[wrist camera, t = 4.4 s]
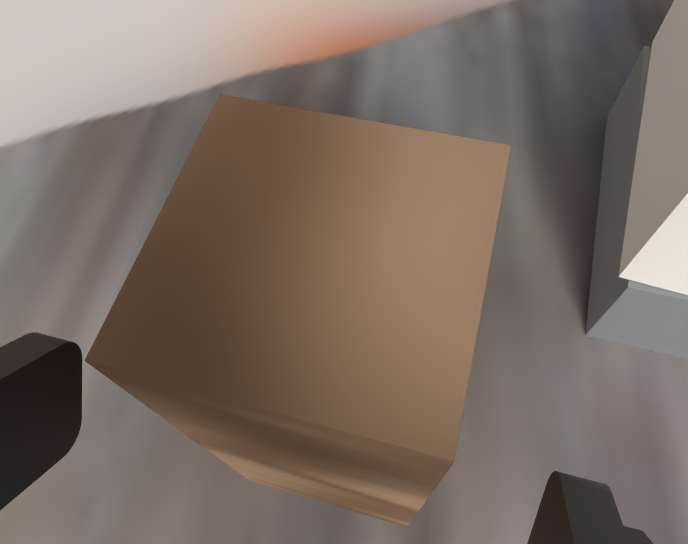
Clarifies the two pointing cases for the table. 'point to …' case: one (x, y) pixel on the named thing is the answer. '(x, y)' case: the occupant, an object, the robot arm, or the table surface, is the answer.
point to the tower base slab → (606, 286)
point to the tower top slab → (662, 166)
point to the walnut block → (314, 301)
